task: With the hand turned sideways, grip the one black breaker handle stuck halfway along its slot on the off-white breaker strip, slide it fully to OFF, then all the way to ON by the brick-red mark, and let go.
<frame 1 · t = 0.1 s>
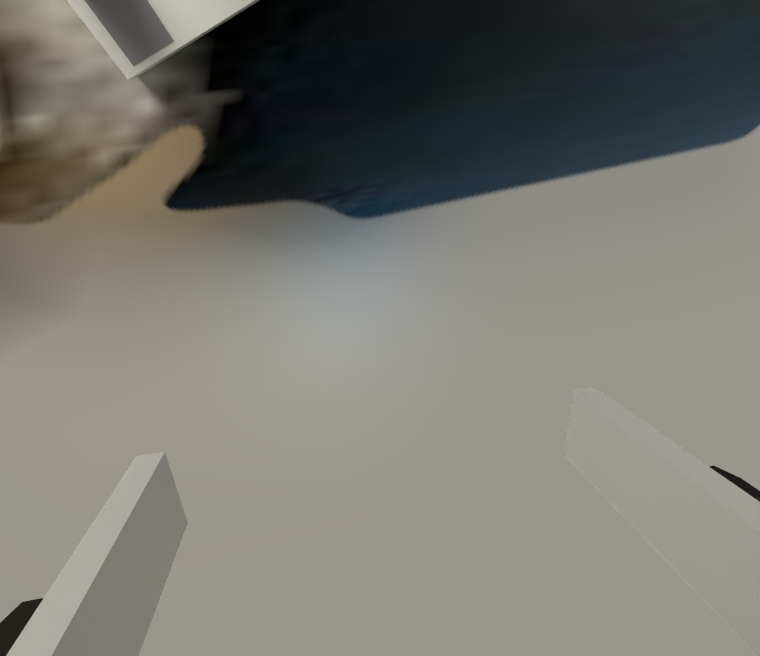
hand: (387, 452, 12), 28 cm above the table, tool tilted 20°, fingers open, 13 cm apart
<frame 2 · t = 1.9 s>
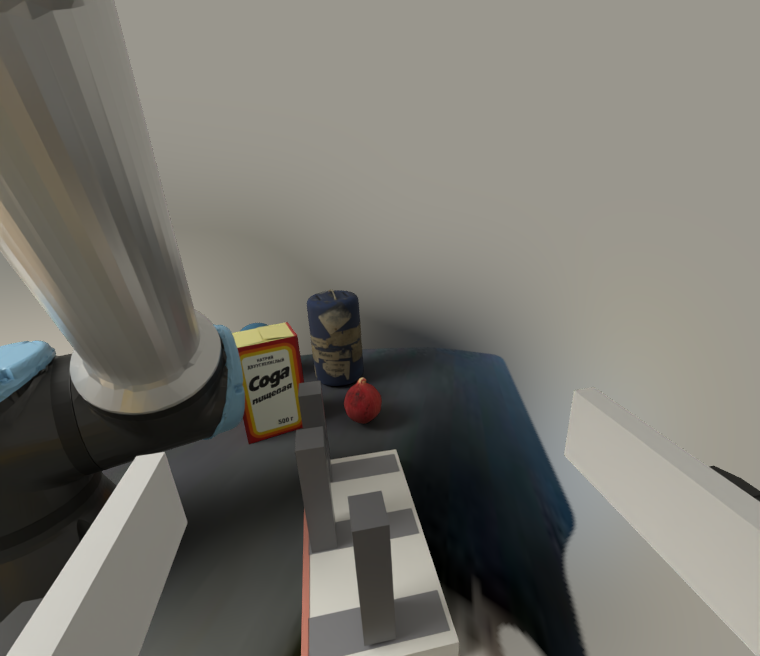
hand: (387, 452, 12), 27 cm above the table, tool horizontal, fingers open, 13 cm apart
baking soda box: (276, 424, 60), on the table
pomegranate: (364, 423, 59), on the table
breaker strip: (364, 544, 39), on the table
dark blue cylinder: (340, 378, 74), on the table
tripped breaker: (372, 570, 28), point 8 cm above the table, slide at 0.0 cm
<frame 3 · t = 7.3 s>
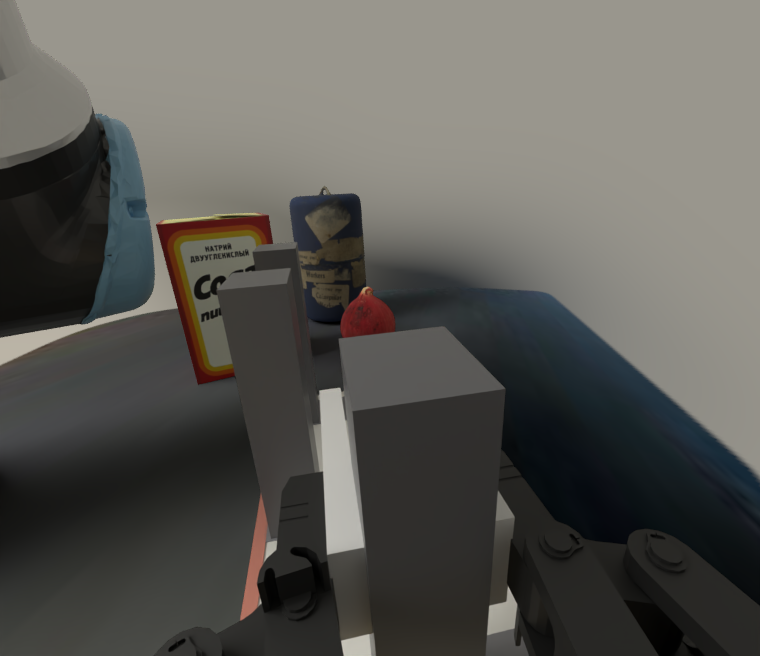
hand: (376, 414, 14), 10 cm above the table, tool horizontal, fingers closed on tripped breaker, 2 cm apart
baking soda box: (243, 363, 42), on the table
pomegranate: (370, 360, 41), on the table
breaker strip: (376, 524, 21), on the table
dark blue cylinder: (336, 316, 55), on the table
tripped breaker: (414, 573, 9), point 8 cm above the table, slide at 0.0 cm, touching gripper
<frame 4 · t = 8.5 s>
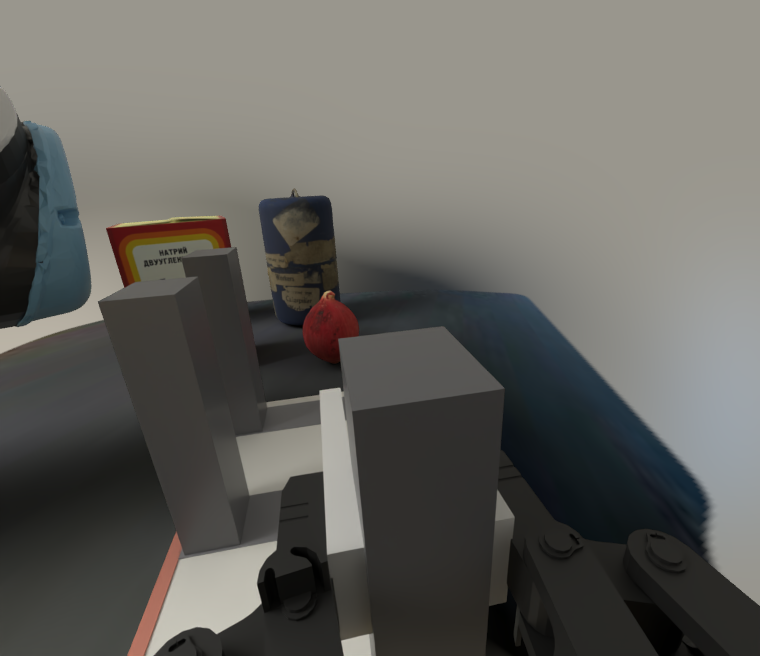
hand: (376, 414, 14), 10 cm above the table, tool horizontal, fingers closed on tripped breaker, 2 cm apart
baking soda box: (207, 367, 41), on the table
pomegranate: (334, 364, 40), on the table
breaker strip: (304, 538, 20), on the table
dark blue cylinder: (309, 319, 55), on the table
tripped breaker: (414, 573, 9), point 8 cm above the table, slide at -3.9 cm, touching gripper
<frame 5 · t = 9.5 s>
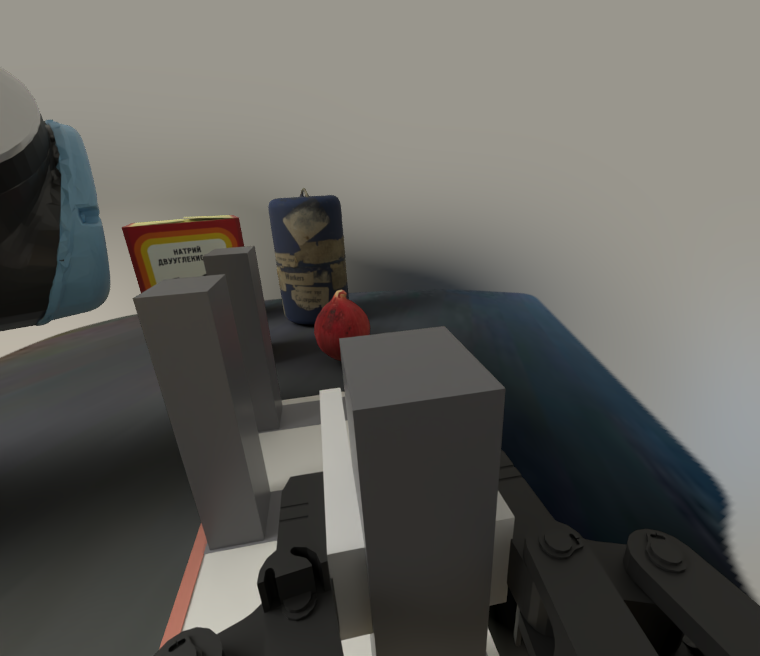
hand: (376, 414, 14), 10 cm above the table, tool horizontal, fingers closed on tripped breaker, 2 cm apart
baking soda box: (218, 366, 42), on the table
pomegranate: (345, 363, 40), on the table
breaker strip: (325, 534, 20), on the table
dark blue cylinder: (318, 319, 55), on the table
tripped breaker: (415, 573, 9), point 8 cm above the table, slide at -2.8 cm, touching gripper
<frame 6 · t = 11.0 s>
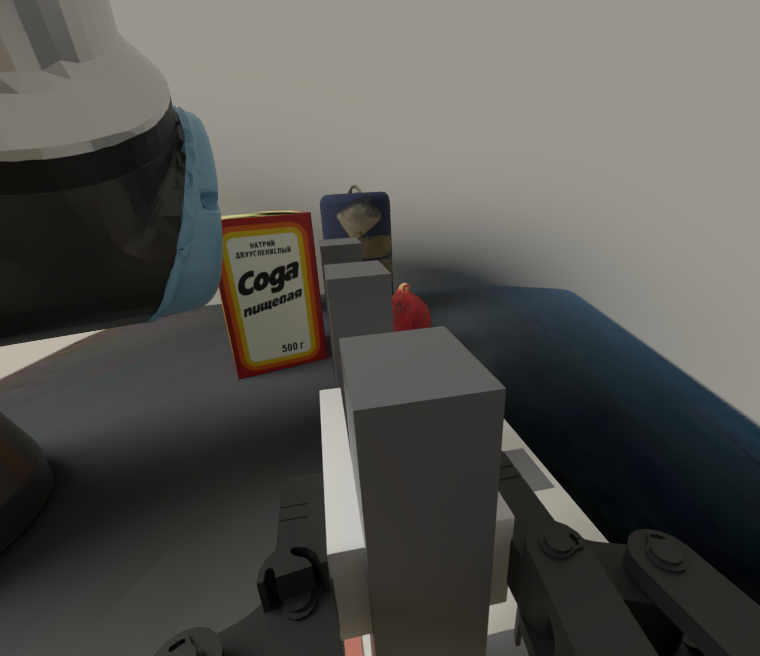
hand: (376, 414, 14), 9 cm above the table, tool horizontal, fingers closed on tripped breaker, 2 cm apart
baking soda box: (279, 358, 43), on the table
pomegranate: (405, 355, 41), on the table
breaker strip: (444, 511, 21), on the table
dark blue cylinder: (363, 313, 56), on the table
tripped breaker: (415, 573, 9), point 8 cm above the table, slide at 3.9 cm, touching gripper
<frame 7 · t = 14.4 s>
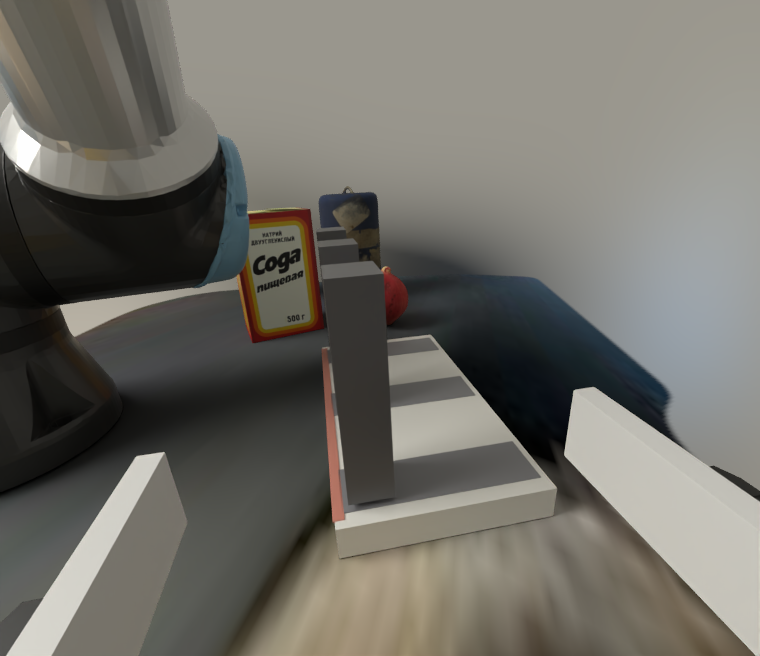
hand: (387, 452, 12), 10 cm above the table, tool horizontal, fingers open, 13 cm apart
baking soda box: (284, 329, 52), on the table
pomegranate: (387, 326, 51), on the table
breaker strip: (402, 415, 31), on the table
dark blue cylinder: (355, 296, 65), on the table
tripped breaker: (360, 386, 19), point 8 cm above the table, slide at 4.0 cm
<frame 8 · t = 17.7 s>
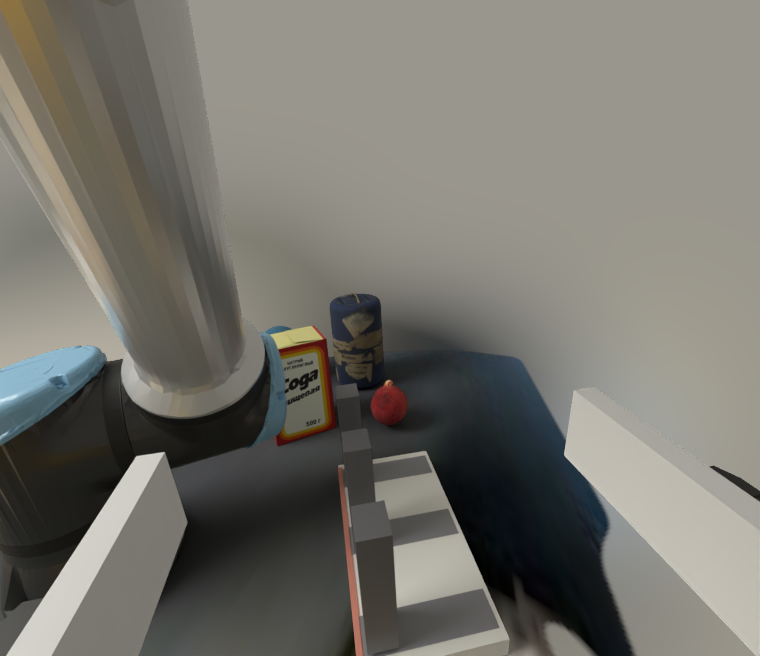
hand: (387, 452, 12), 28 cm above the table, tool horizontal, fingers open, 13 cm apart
baking soda box: (302, 426, 61), on the table
pomegranate: (390, 425, 60), on the table
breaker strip: (403, 544, 40), on the table
dark blue cylinder: (361, 380, 74), on the table
tripped breaker: (375, 579, 28), point 8 cm above the table, slide at 4.0 cm
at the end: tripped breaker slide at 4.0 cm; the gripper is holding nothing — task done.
